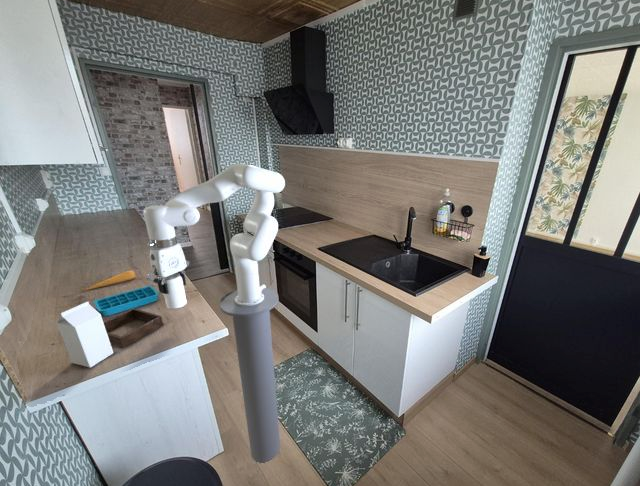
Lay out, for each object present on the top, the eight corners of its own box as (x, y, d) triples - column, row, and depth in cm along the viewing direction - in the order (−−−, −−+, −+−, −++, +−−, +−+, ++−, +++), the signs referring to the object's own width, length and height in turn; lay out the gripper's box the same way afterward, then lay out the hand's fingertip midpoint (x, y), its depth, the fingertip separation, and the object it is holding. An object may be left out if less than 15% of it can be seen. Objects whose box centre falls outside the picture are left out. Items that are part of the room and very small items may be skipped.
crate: (135, 316, 115) (133, 307, 114) (163, 324, 111) (161, 316, 110) (93, 337, 102) (90, 328, 101) (123, 348, 98) (120, 338, 97)
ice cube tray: (161, 300, 127) (159, 294, 126) (101, 318, 113) (98, 311, 111) (152, 291, 134) (151, 285, 133) (94, 307, 119) (92, 300, 118)
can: (179, 299, 113) (174, 270, 108) (190, 303, 110) (185, 274, 106) (162, 306, 107) (155, 277, 103) (173, 311, 105) (167, 281, 100)
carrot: (136, 277, 146) (131, 269, 145) (137, 277, 143) (133, 268, 142) (84, 295, 132) (79, 286, 131) (85, 295, 129) (80, 286, 128)
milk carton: (113, 353, 96) (97, 303, 89) (90, 368, 89) (70, 315, 82) (96, 349, 97) (78, 299, 90) (72, 363, 90) (51, 311, 83)
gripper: (147, 252, 91) (158, 301, 97) (193, 237, 106) (201, 281, 113) (129, 248, 93) (142, 297, 99) (177, 234, 108) (186, 277, 115)
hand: (173, 288), depth 106 cm, fingers closed on can, 6 cm apart
